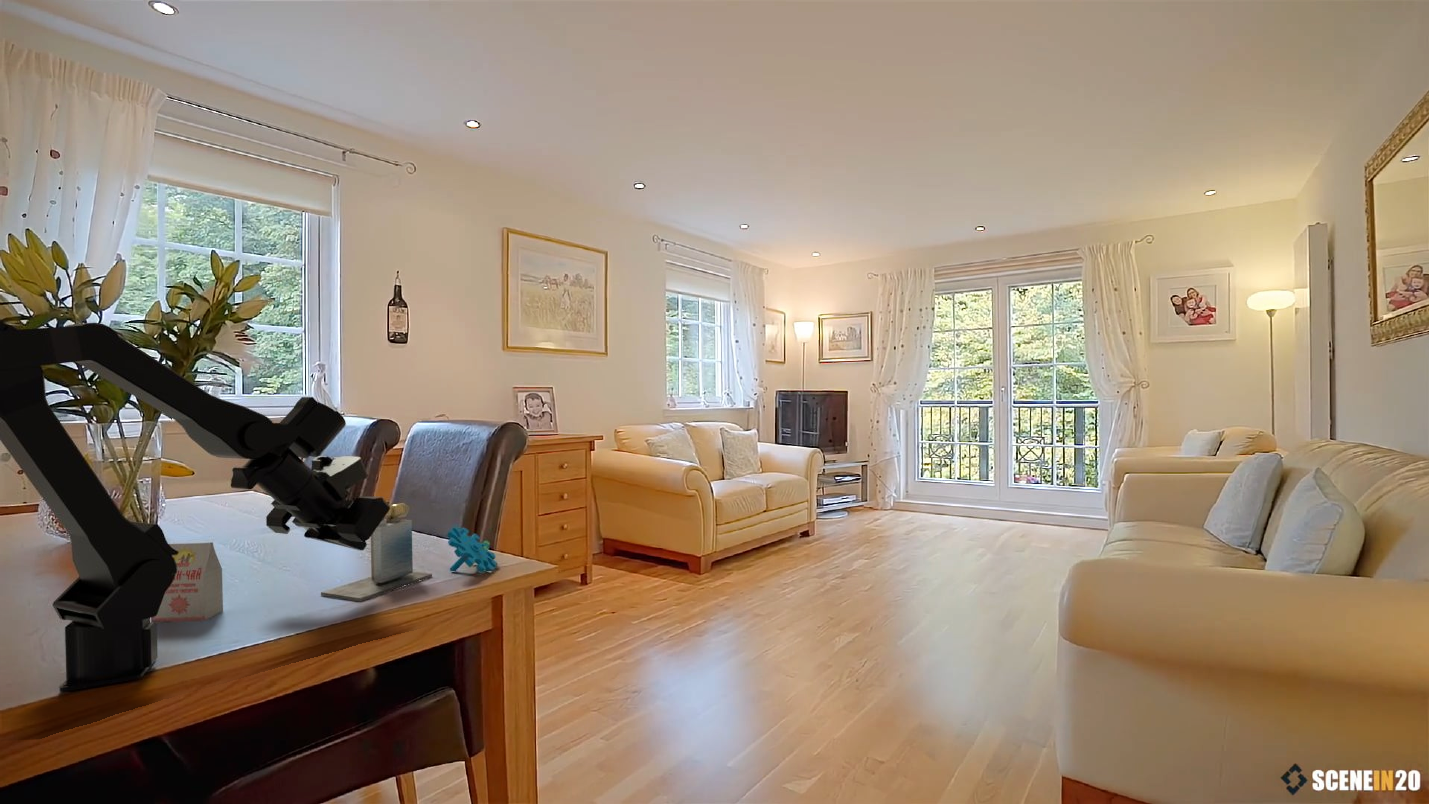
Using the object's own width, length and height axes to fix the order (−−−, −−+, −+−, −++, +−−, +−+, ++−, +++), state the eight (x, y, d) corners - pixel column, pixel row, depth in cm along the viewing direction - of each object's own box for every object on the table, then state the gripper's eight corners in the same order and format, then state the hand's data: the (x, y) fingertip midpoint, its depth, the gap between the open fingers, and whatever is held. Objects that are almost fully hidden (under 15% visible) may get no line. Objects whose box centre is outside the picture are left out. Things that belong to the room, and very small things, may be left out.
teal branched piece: (481, 571, 106) (442, 525, 108) (455, 597, 106) (416, 551, 108) (511, 562, 117) (475, 521, 118) (487, 586, 117) (451, 544, 118)
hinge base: (360, 601, 96) (358, 519, 96) (321, 595, 99) (319, 515, 99) (432, 576, 109) (430, 503, 108) (395, 572, 112) (394, 501, 111)
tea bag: (171, 612, 92) (169, 540, 92) (223, 610, 93) (221, 539, 93) (151, 621, 89) (149, 547, 88) (204, 620, 89) (202, 545, 89)
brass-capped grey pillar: (378, 584, 102) (377, 511, 102) (361, 581, 103) (360, 510, 103) (412, 572, 108) (411, 504, 108) (396, 570, 110) (395, 503, 109)
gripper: (378, 440, 92) (439, 507, 102) (285, 437, 99) (351, 501, 109) (326, 505, 85) (398, 571, 95) (230, 498, 92) (306, 560, 102)
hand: (363, 547), depth 101 cm, fingers closed
